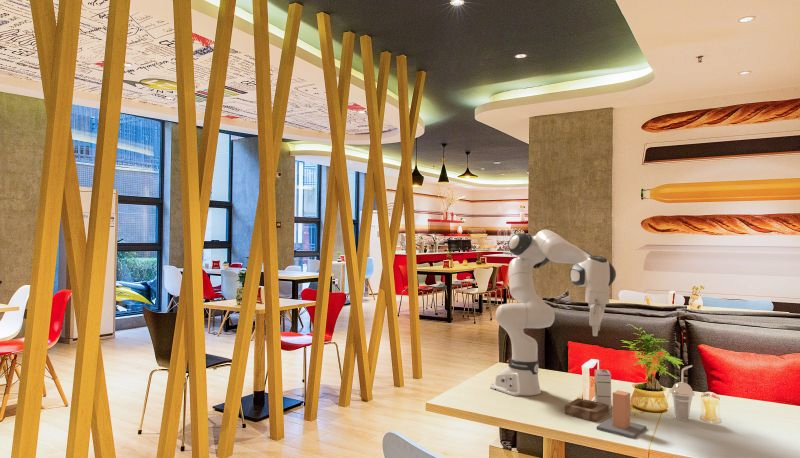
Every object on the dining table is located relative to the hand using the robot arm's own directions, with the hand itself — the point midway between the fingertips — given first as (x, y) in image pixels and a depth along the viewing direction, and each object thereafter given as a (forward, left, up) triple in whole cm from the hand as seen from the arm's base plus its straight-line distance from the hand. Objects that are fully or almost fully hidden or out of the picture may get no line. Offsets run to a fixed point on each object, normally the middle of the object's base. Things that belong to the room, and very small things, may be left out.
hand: (596, 333), depth 215 cm
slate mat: (+14, -10, -31) cm, 36 cm away
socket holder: (-2, -3, -31) cm, 32 cm away
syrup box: (-1, +10, -32) cm, 33 cm away
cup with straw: (+27, +17, -32) cm, 45 cm away
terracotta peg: (+14, -10, -30) cm, 35 cm away
